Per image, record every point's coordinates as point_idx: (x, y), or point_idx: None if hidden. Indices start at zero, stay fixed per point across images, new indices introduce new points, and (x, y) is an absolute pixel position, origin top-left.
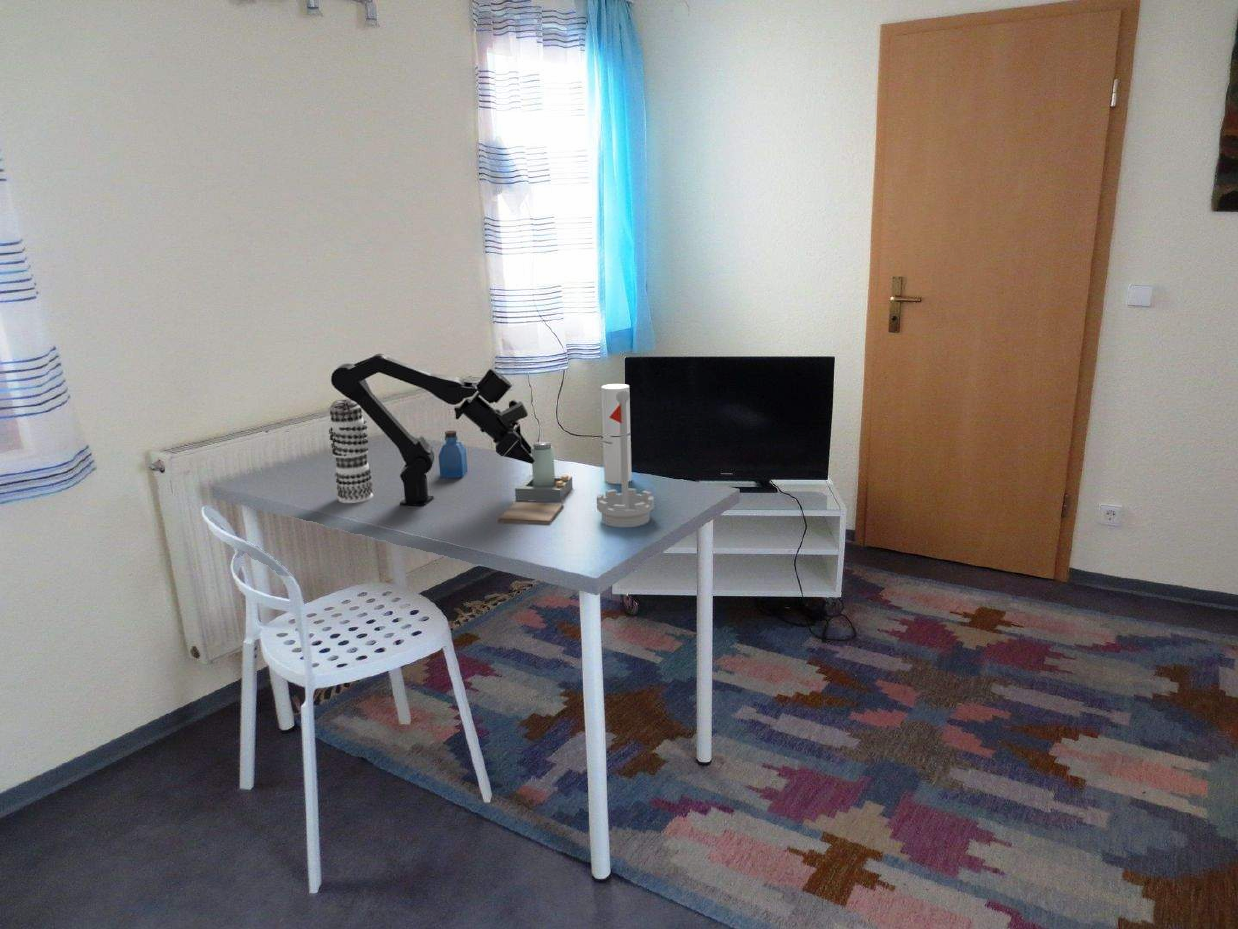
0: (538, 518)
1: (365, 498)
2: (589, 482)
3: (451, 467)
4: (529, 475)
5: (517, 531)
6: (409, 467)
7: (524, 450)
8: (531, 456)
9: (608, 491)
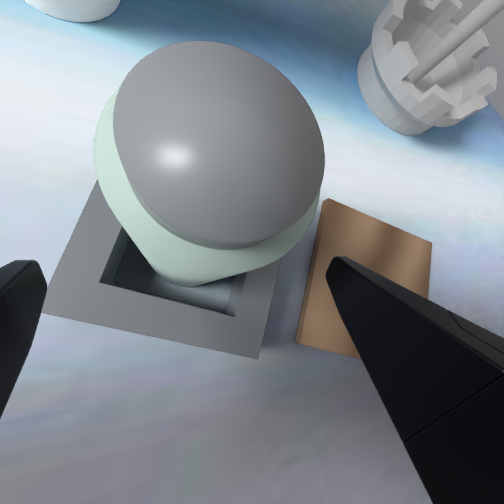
0: (420, 268)
1: None
2: (72, 73)
3: None
4: (45, 308)
5: (459, 315)
6: None
7: (470, 328)
8: (362, 272)
9: (415, 63)
